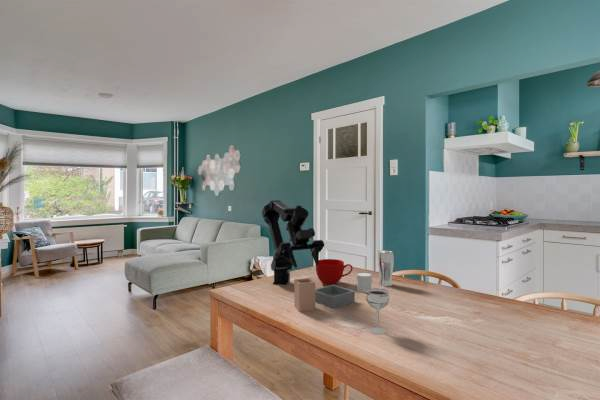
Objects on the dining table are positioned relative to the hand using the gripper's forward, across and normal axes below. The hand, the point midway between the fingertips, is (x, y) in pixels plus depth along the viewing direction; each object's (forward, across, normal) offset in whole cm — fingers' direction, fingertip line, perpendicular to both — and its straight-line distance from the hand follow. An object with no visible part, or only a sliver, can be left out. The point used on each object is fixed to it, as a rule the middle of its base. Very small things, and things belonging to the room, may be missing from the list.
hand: (307, 266), depth 128 cm
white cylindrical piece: (+9, +28, +10) cm, 31 cm away
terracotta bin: (+15, -4, +4) cm, 16 cm away
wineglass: (+33, +8, -16) cm, 37 cm away
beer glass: (+7, +41, +13) cm, 44 cm away
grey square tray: (+13, +9, +6) cm, 17 cm away
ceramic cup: (-1, +21, +21) cm, 30 cm away
